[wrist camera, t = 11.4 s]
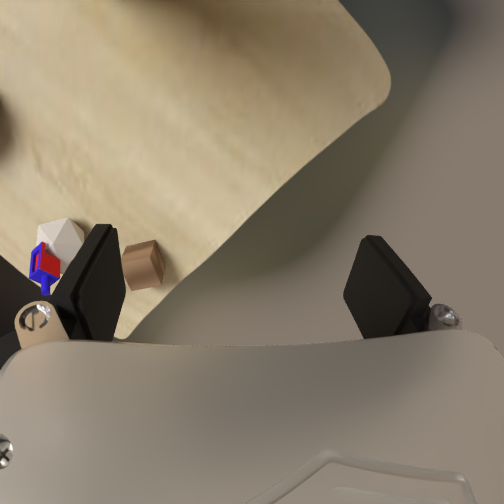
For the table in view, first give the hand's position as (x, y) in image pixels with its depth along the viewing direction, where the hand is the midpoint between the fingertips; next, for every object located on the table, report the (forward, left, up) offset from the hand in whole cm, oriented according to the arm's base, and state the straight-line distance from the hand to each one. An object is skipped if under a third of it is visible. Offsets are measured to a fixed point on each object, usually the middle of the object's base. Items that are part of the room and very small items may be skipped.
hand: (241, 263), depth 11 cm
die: (+16, -24, -31) cm, 42 cm away
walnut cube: (+20, -11, -30) cm, 38 cm away
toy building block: (+16, -24, -23) cm, 37 cm away
